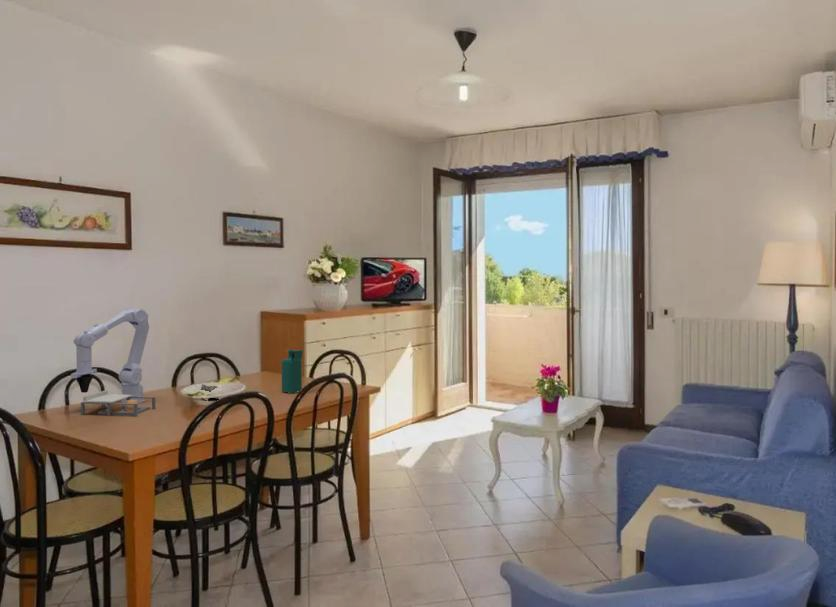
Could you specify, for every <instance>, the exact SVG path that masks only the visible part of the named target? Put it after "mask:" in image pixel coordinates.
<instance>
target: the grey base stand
mask: <svg viewBox="0 0 836 607" xmlns="http://www.w3.org/2000/svg"><path fill="white" fill-rule="evenodd" d="M130 398H143V399H144V400H146V399H149V400H151V409H152V410H155V409H156V397H155V396H143V397H132V396H131V397H128V398H127V400H130ZM138 404H139V403H137V404H127V403H104V402H83V401H82V402H80V415H81V416H82V415H85V413H86V410H85V408H86V406H85V405H101V408H105V409H102V410H99V411H98V412H97V415H104V416H105V415H107V416H133V417H138V415H139V414H141V413H144V412H146V411H149V410H150V406H139V405H138ZM111 405H122V410H119V411H112V410H111ZM127 405H134V411H126V409H127Z"/></svg>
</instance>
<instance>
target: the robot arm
mask: <svg viewBox="0 0 836 607" xmlns="http://www.w3.org/2000/svg"><path fill="white" fill-rule="evenodd" d="M125 322H126V323H127V322H128V323H129V324H131V326H132V327H133V328H134V329H135V331H134V335H133V338H132V342H131V346H130V350H129V354H128V356H127V357H128V358H127V361H126V363H124V365H123V367H122V368H121V370H120V372H119V374H118V379H119V381H120V382H121V394H122V395H133V396H132V397H144V387H143V385H142V384H141V383H140V382H141V381H142V379H143V375H142V373H143V372H142V371H143V369H142V366H141V365H140V364H141V362H142V358H143V353H144V349H145V345H146V342H147V339H148V334H149V330H150V325H149V324H150V323H149V314H148V312H146V310H145V309H143V308H133V307H130V308H126V309H125V310H123V311H121V312H120V313H118V314H117V315H115V316H113V317H112V318H110V319H109V320H108V321H106V322H104V323H95V324H93V326H92V327H90V328H88V329H85V330H84V331H83V332H80V333H77V334H76V335H75V336H74V339H73V344H74V345H75V347H76V352H75V353H76V354H75V355H76V371H74V372H73V373H70V378H71V379H75V380H76V382H77V384H78V387H79V389H80V392H81V393H88V391H89V388H90V386H91V382H92V380H93V378H94V374H97V373H98V368H93V364H92V363H93V360H92V354H93V353H92V349H93V348H92V346H94V344H95V342H97V341H98V340H100V339H102V338H103V337H106V335H108V332H109V330H112V329H114V328H115V327H117V326H118V325H121V324H123V323H125ZM130 400H137V404H141V403H143V402H145V401H146V399H144V398H130ZM121 401H122V403H127V398H125V399H122V400H121Z"/></svg>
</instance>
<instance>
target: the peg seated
mask: <svg viewBox="0 0 836 607" xmlns="http://www.w3.org/2000/svg"><path fill="white" fill-rule="evenodd" d="M113 403H122V400H119V401H116V402H113ZM122 406H123V405H111V410H112V411H119V410H122Z"/></svg>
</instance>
